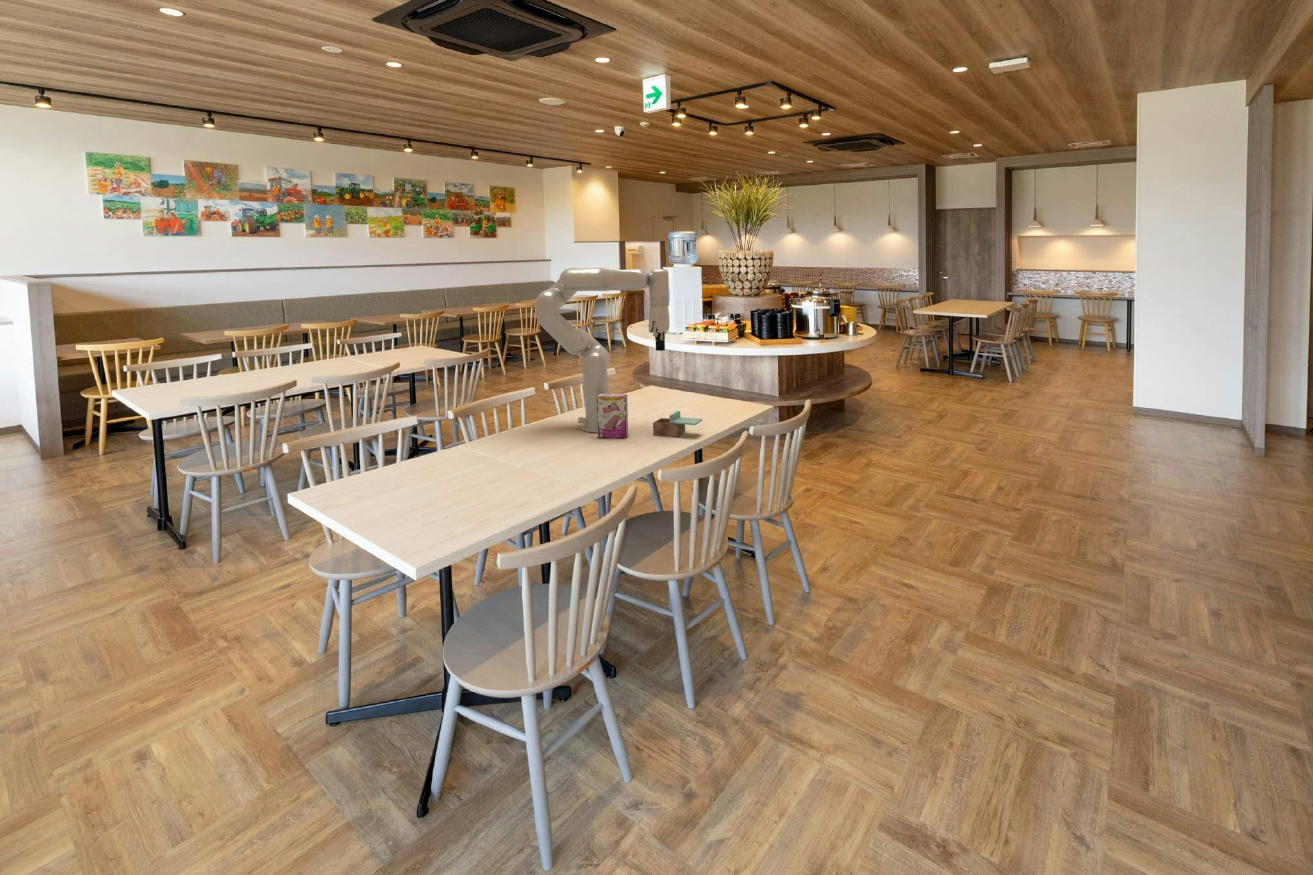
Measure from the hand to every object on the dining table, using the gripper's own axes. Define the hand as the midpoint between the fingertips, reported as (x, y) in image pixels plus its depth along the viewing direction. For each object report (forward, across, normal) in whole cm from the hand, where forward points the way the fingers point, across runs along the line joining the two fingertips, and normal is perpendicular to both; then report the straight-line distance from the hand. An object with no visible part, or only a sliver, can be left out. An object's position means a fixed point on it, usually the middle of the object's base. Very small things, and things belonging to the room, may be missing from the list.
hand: (660, 350), depth 283 cm
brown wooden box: (+31, +7, +6) cm, 32 cm away
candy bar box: (+31, +18, -12) cm, 38 cm away
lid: (+26, +7, +13) cm, 30 cm away
